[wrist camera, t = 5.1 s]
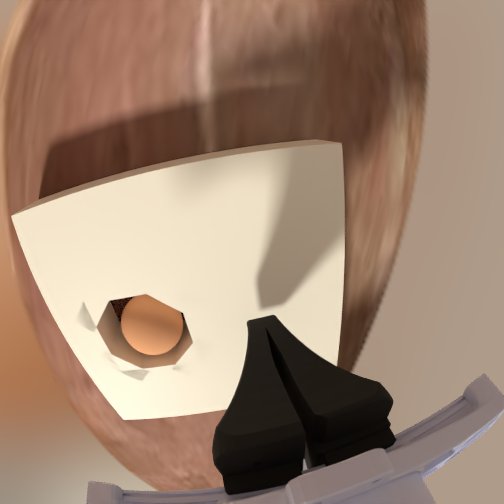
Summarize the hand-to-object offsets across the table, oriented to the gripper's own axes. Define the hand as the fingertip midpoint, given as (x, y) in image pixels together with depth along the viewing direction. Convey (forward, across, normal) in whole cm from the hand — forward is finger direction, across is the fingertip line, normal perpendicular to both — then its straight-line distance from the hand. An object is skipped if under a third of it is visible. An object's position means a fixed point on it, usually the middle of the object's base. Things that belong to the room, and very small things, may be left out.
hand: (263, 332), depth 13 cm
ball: (+3, +6, 0) cm, 6 cm away
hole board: (+4, +3, 0) cm, 5 cm away
